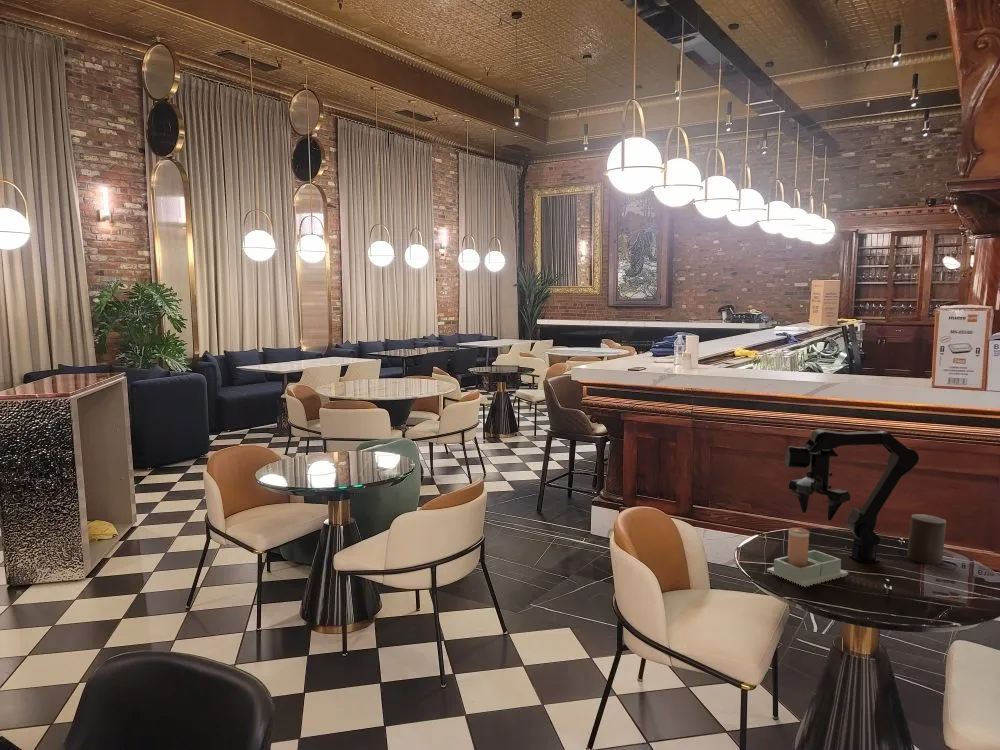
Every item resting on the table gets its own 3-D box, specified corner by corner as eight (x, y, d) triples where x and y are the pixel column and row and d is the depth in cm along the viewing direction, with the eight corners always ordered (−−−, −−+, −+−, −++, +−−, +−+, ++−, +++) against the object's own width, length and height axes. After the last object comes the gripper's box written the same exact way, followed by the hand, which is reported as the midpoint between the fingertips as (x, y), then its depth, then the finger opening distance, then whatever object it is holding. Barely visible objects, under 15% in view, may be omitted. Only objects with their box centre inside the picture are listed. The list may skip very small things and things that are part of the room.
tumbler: (807, 571, 207) (809, 529, 205) (806, 577, 202) (809, 534, 200) (787, 568, 209) (789, 526, 208) (786, 574, 204) (788, 531, 203)
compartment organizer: (809, 561, 218) (810, 547, 218) (848, 575, 207) (849, 560, 207) (767, 571, 209) (767, 557, 208) (804, 587, 197) (805, 571, 197)
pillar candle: (915, 563, 219) (920, 517, 217) (901, 553, 228) (906, 508, 227) (948, 566, 217) (953, 520, 216) (933, 555, 227) (937, 511, 226)
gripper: (778, 465, 225) (775, 511, 227) (830, 477, 209) (826, 528, 211) (800, 462, 231) (797, 507, 232) (853, 474, 215) (849, 523, 216)
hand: (816, 516), depth 223 cm, fingers open, 9 cm apart
